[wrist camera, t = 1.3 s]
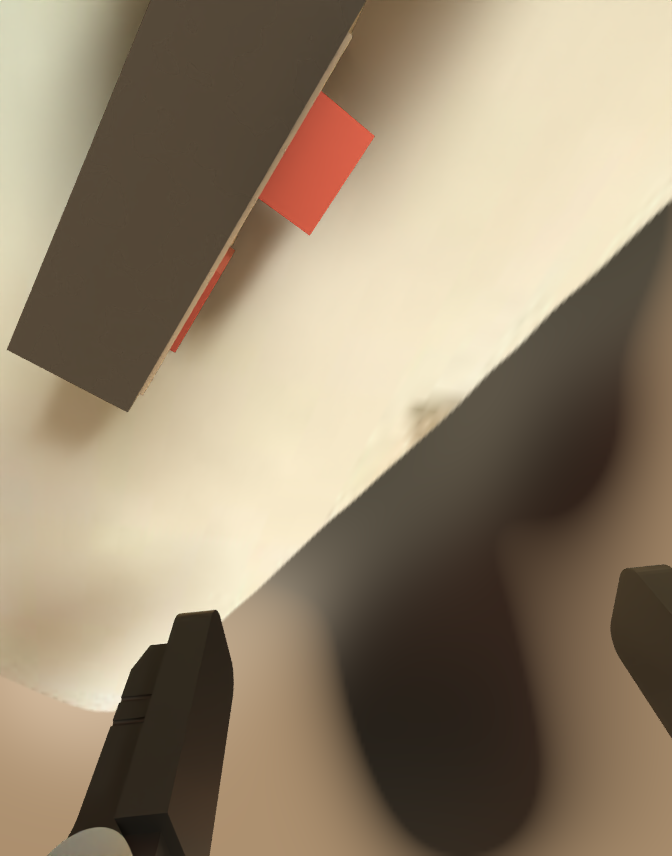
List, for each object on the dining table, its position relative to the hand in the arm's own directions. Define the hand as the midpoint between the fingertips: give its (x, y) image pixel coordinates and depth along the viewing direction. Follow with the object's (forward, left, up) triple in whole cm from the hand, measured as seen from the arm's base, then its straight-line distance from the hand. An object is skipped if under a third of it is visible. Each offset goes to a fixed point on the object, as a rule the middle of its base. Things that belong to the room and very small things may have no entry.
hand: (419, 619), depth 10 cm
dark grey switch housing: (-3, -10, -30) cm, 32 cm away
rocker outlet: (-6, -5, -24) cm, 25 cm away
